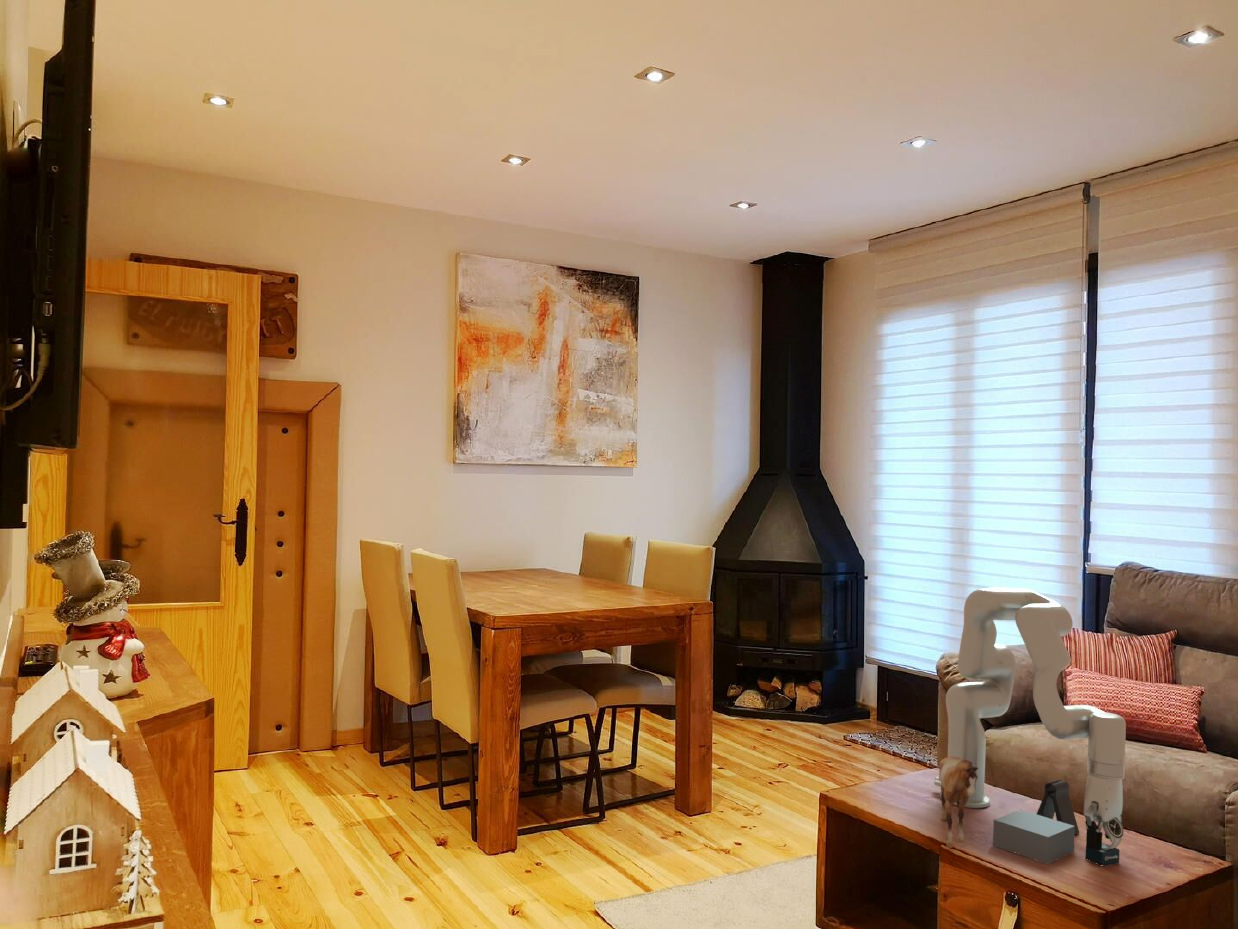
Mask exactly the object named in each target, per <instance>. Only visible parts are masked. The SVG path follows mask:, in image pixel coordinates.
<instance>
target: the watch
mask: <svg viewBox="0 0 1238 929" xmlns="http://www.w3.org/2000/svg"><path fill="white" fill-rule="evenodd" d="M1085 826H1086V823H1085ZM1102 829H1103V832H1104V834H1105V833H1106V834H1107V835H1108V837H1109V839H1108V840H1109V841H1110V842H1111V844H1106V842H1105V843H1104V842H1102V850H1100V851H1099V850H1096V849H1092V848H1089V847H1087V846H1086V845H1085V860H1086V859H1088V860H1087V861H1089V860H1090V861H1089V862H1091V861H1092V862H1091V863H1093V862H1094V864H1095V863H1097V864H1096V865H1098V866H1100V865H1107V866H1113V865H1119V864H1120V849H1119V848H1117V847H1119V846H1120V844H1121V841H1122V840H1123V836H1124V828H1123V824H1122V822H1120V821H1119V820H1118V819H1117V818H1116V817H1115V818H1113V820H1110V821H1108V822H1105V823H1103V825H1102Z"/></svg>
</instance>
